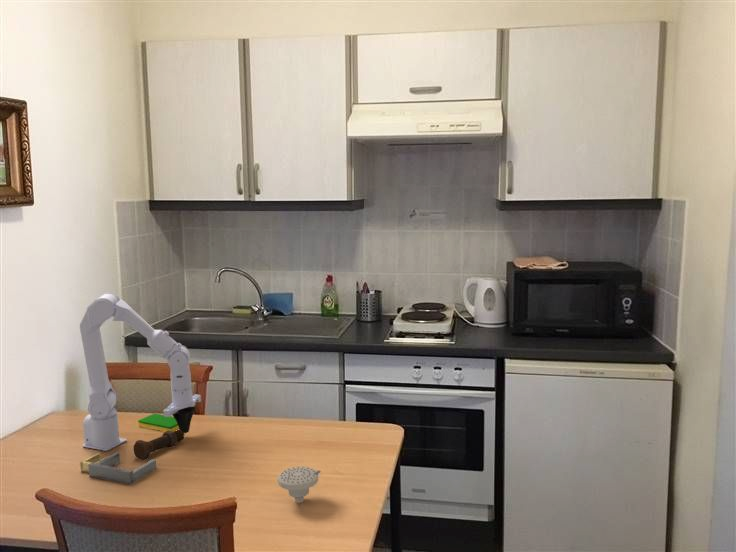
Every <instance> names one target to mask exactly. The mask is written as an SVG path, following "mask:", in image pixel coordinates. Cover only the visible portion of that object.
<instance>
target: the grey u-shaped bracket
mask: <svg viewBox="0 0 736 552" xmlns="http://www.w3.org/2000/svg"><path fill="white" fill-rule="evenodd" d="M102 459H103V458H102ZM119 463H121V457H120V453H119V452H115V453H112V454H110V457H108V458H106V459H103V461H101V462H99V463H97V464H96V463H90V464H88V468H89V473H88V477H90V476H91V478H95V477H96V478H97V479H100V478H101V479H102V480H105V481H110V482H114V483H115V482H116V483H121V484H125V485H130V486H131V485H132V484H134V483H136V482H137V481H139V480H141V479H142V478H144V477H146V476H148V475H149V474H150V472H151V473H152V472H154V471H155V469H156V470H157V459H154V458H153V459H150V460H148V461H147V462H145V463H143V464H142V465H140V466H138V467H136V468H135V469H133V470H132V469H127V468H121V467H117V466H116V465H117V464H119ZM115 464H116V465H115ZM113 465H114V466H113ZM153 470H154V471H153ZM145 475H146V476H145ZM140 478H141V479H140Z"/></svg>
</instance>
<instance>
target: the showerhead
mask: <svg viewBox="0 0 736 552" xmlns="http://www.w3.org/2000/svg"><path fill="white" fill-rule="evenodd" d="M321 472H322V471H321V470H319V469H317V470H316V469H314V468H311V467H308V466H307V467H306V466H296V467H294V466H293V467H291V468H287V469H284V470H283V471H281V472H280V473H279V474H278V476H277V484H278V486H279V487H281V488H282V489H285V490H288V491H287V492H288V495H289V496H290V497H293V498H294V503H295V504H296V503H297V504H301V503H303V502H305V496H307V495H309V493H310V488H312V487H314V486H315V485H316V484H317V483H318V482H319V474H320V473H321Z"/></svg>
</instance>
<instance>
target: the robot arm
mask: <svg viewBox="0 0 736 552" xmlns="http://www.w3.org/2000/svg"><path fill="white" fill-rule="evenodd" d="M84 313H85V314H84V315H83V317H82V320H81V322H80V323H79V330H80V335H81V341H82V347H83V352H84V358H85V364H86V368H87V370H86V371H87V374H88V380H89V385H90V386H89V392H88V395H89V403H88V405H87V412H88V414H87V415H86V416H85V418H84V420H83V423H82V429H83V440H84V443H83V444H82V447H83V448H87V449H94V450H99V451H105V452H107V451H109V450H111V449H113V448H116V447H118V446H119V445H121V444H124V443H125V442H127V439H126V438H121V437H120V430H119V429H120V428H119V418H118V417H119V416H118V410H117V409H116V404H117V402H118V395H117V393H116V392H115V390H114V389H113V385H112V382H111V381H110V380H109V375H108V368H107V364H106V362H107V361H106V358H105V352H104V346H103V340H102V336H101V335H102V334H101V327H102V326H103V325H104V324H105V322H106V321H108V320H109V319H111V318H112V317H113V318H112V321H113V322H124V323H126V324H127V325H129V326H130V327H131V328H132V329H134V330H135V331H137V332H138V333H139V334H140V335H141V336H143V337H144V338H146V342H147V344H146V345H147V346H149V347H150V348H151V349H152V350H153V351H154V352H156V353H157V354H158V355H160V357H162V358H163V359H164V360H167V365H168V367H169V368H170V387H171V390H170V391H171V403H170V404H169V405H168V406H167V407H166V408H165V409H163V410H162V411H163V415H164V417H174V418H175V420H176V422H177V424H178V426H179V430H181V431H182V432H183V433H184V434H188V433H189V432H190V427H191V422H192V419H193V416H194V414H195V411H196V407H195V406H196V403H199V402H202V397H201V395H202V394H196V393H195V394H194V395H193V391H192V376H191V375H192V374H191V371H190V369H191V366H190V358H191V353H190V350H189V349H188V347H187V346H185V345H182V343H180V342H177V341H176V340H174V339H173V337H171V336H170V332H168V331H167V330H165V331H164V330H163V329H155V328H154V327H152V326H151V325H150V323H148V322H147V321H146V320H145V319H144V318H143V317H142V316H141V315H140V314H138V312H137V311H135V310H134V309H133V308H132V307H131V306H130V305H129V304H128V303H127V302H126V301H125V300H124V299H121V298H119V297H118V296H117V295H116V294H115V293H113V292H105V293H103V294H101V295H100V296H98V298H97V299H95V300H94V301H92V302H91V303H90V305H88V306H87V308H86V311H85V312H84Z"/></svg>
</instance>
